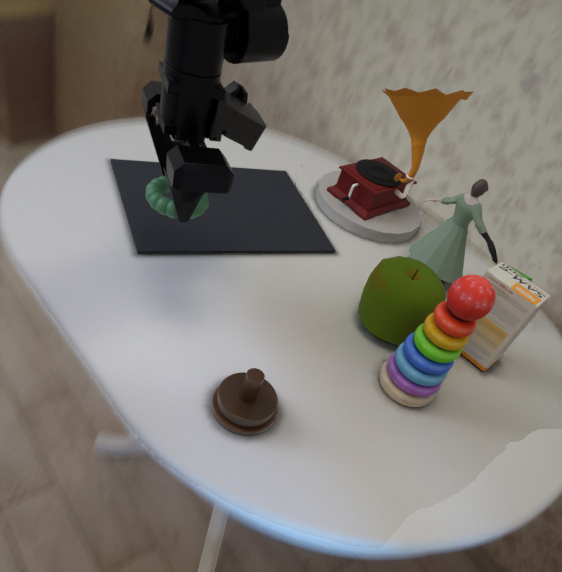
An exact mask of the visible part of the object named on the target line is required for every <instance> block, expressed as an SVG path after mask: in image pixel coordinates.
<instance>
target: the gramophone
mask: <svg viewBox="0 0 562 572" xmlns="http://www.w3.org/2000/svg"><path fill="white" fill-rule="evenodd" d="M381 92H382V93H384V94H385V95H386V96H387V98H389V100H390V101H391V104H392V106H393V107H394V109H395V111H396V113H397V115H398V117H399V119H400V120H401V121H402V123H403V125H404V126H405V128H406V130H407V132H408V135H409V137H410V147H411V148H410V149H411V151H410V152H411V165H410V166H411V167H410V169H409V171H408V173H405V172H404V171H403V170H401V169H400V168H399V167H398V166H396V165H395V164H393V163H392V162H390V161H389V160H388V159H386V158H384V157H383V156H380V157H376V158H371V159H369V158H365V159H360V160H357V162H352V163H347V164H344V165H339V166H338V169H339V170H332V171H330V172H327V173H324V174H323V175H322V177H321V178H320V179H319V181H318V183H317V187H316V189H315V201H316V203H317V205H318V207H319V208H320V210H321V211H322V213H324V214H325V215H326V217H328V219H330V221H331V222H333V223H335V224H336V225H337V226H339V227H341V228H342V229H344V230H345V231H347V232H349V233H352V234H353V235H356V236H358V237H361V238H362V239H363V238H364V239H367V240H370V241H374V242H379V243H391V244H395V243H401V242H406V241H408V240H409V239H411V238H412V237H414V236H415V234H416V232H417V230H418V229H419V227H420V224H421V221H422V216H421V212H420V208H418V206H417V204H416V203H415V201H414V200H413V199H412V198H411V197H410V196H408V195H409V193H410V191H411V189H412V187H413V186H414V185H416V184H418V182H417V181H416V176H417V174H418V171H419V170H420V167H421V163H422V160H423V157H424V154H425V151H426V150H425V149H426V145H427V142H428V138H430V135H431V134H432V132H433V131H434V130H435V129H436V128H437V126H439V124H440V123H441V122H442V121H443V120H445V119H446V117H447V116H448V115H449V114H450V112H451V111H452V110H453V109H454V108H455V107H456V105H457V104H458V103H460V101H461V100H462V101H467V100H468V99H469V98H470V97H471V95H472V94H473V93H474V91H465V90H464V89H461V90H458V91H454V92H451V93H448V94H446V93H445V92H442V91H440V90H439V89H438V88H432V89H431V88H430V89H427V90H423V91H416V90H414V89H411V88H407V87H402V88H400V89H396V90H394V89H389V88H384V90H383V89H381Z"/></svg>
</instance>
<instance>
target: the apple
mask: <svg viewBox="0 0 562 572" xmlns="http://www.w3.org/2000/svg"><path fill="white" fill-rule="evenodd" d="M443 301H447V293H446V288H445V286H444V284H443V282H442V280H441V279H439V277H438V276H437V274H436V273H435V272H434V271H433V270H432V269H431V268H430V267H428V266H427V265H425V264H424V263H422V262H421V261H419V260H416V259H413V258H411V256H402V255H398V256H392V257H387V258H382V259H381V260H380V261H379V263H378V264H377V265H376V266H375V267H374V268H373V270H372V271H371V272H370V273H369V276H368V278H367V280H366V282H365V283H364V286H363V289H362V292H361V295H360V299H359V303H358V307H357V313H358V317H359V319H360V322H361V323H362V325H363V326H364V327H365V328H366V329H367V331H368V332H369V333H371V334H372V335H373V336H375V337H376V338H378V339H379V340H383V341H385V342H387V343H390V344H394V345H396V346H397V345H398V346H400V345H401V344H402V343H403V342H405V340H406V338H407V337H408V336H409V335H410V334H411V333H413V332H415V331H416V329H417V328H418V326H420V325H421V324H423V323H424V322H425V319H426V318H427V317H428V316H429V315H430V314H431V313H434V310H435V308H436V306H437V305H438V304H439V303H441V302H443Z"/></svg>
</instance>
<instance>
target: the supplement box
mask: <svg viewBox="0 0 562 572" xmlns="http://www.w3.org/2000/svg"><path fill="white" fill-rule="evenodd" d="M509 266H510V265H508V264H506V263H505V262H504V261H501V262H498V263H497V264H495V265H494V266H492V267H490V268H488V269H487V270H486V271H485V273H484V275H483V276H482V277H484V278H485V279H487V280H488V281H489V282H490V283H491V284H492V286H493V288H494V290H495V296H496V298H495V303H494V306H493V308H492V309H491V311H490V312H489V313H488V314H487V315H486V316H484V317H483V318H481V319H478V320H476V328H475V330H474V332H473V333H472V334H470V335H469V339H468V342H467V344H466V345H465V346H464V347H463V348H462V351H461V354H460V355H462V356H463V357H465V358H466V359H467V360H469V361H470V362H471V363H472V364H473V365H475V366H476V367H477V368H478V369H480V371H482V372H486V371H487V370H488V369H489V368H490V367H492V366H493V365H494V364H495V363H496V362H498V360H500V359H501V357H502V356H503V354H505V352H506V351H507V350H508V349H509V347H510V346H511V345H512V344H513V343H514V341H515V340H516V339H517V338H518V337H519V336H520V334H521V333H522V332H523V331H524V330H525V328H526V327H528V325H529V324H530V322H531V321H532V320H533V318H535V316H536V315H537V314H538V313H539V312H540V311H541V309H542V308H543V307H544V306H545V304H546V303H547V302H548V301H549V299H550V298H551V297H552V296H551V295H550V294H548V293H547V292H546V291H544V290H543V289H542V288H541V287H539V286H537V285H536V284H535V283H533V281H532V282H530V281H529V280H527V279H526V278H525V277H523V276H522V275H520V274H519V273H517V272H516V271H515V270H513V269H512V268H513V267H512V266H510V267H509ZM511 267H512V268H511Z"/></svg>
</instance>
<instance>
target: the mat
mask: <svg viewBox="0 0 562 572" xmlns="http://www.w3.org/2000/svg"><path fill="white" fill-rule="evenodd" d="M110 164H111V167H112V171H113V174H114V179H115V181H116V184H117V188H118V191H119V196H120V198H121V202H122V205H123V208H124V209H123V210H124V212H125V216H126V219H127V223H128V227H129V229H130V233H131V235H132V236H131V237H132V240H133V243H134V247H135V250H136V253H137V255H144V254H145V255H148V254H149V255H151V254H152V255H153V254H154V255H156V254H158V255H159V254H161V255H163V254H164V255H165V254H166V255H167V254H168V255H169V254H170V255H171V254H172V255H173V254H174V255H175V254H176V255H177V254H183V255H184V254H187V255H188V254H335V253H336V249H335V247H334V245H333V244H332V243H331V241H330V239H329V237H328V236H327V235H326V233H325V231H324V230H323V228H322V227H321V225H320V223H319V221H318V220H317V218H316V217H315V215H314V213H313V212H312V210H311V209H310V207H309V206H308V204H307V202H306V201H305V199H304V198H303V196H302V195H301V193H300V191H299V190H298V188H297V187H296V185H295V184H294V181H293V180H292V178H291V177H290V176H289V173H288V172H287V171H286V170H277V169H264V168H263V169H262V168H248V167H247V168H246V167H233V166H230V167H231V169H232V171H233V173H234V179H233V184H232V189H231V191H230V192H229V193H228V194H223V193H207V195H208V201H209V206H208V208H207V209H206V210H205V212H204V214H203V215H201V216H197V217H196V218H194V219H189V221H188V222H179V220H178V218H170V217H168V216H167V215H162V214H160V213H159V212H158V211H157V210H155V209H153V208H152V207H151V206H150V204H149V202H148V201H147V200H146V187H147V185H148V184H149V183H150V182H151V181H152V180H153V179H155V178H159V177H161V176H163V174H162V171H161V167H160V164H159V161H147V160H133V159H119V158H110ZM163 195H164V196H165V197H166V198H169V199H170V200H171V201H172V200H173V199H172V196H171V192H168V193H164V194H163Z"/></svg>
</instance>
